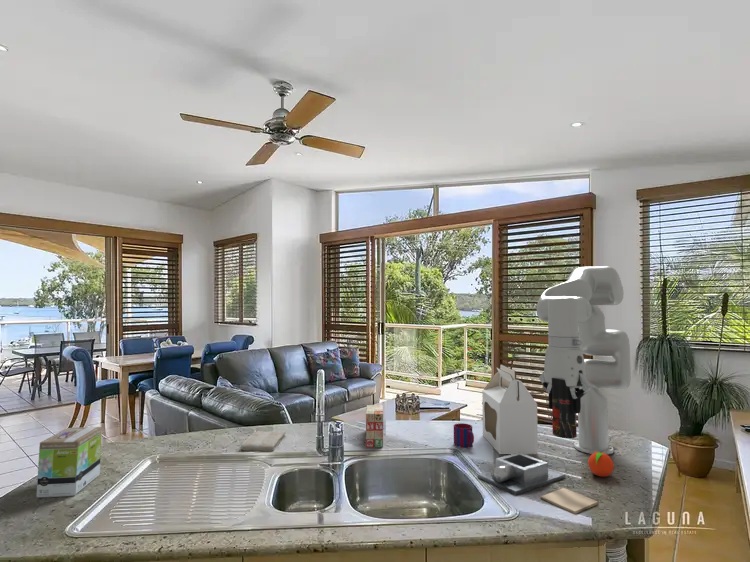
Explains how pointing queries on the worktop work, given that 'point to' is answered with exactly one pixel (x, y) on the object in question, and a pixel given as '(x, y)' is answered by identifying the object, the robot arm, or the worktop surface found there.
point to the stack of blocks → (374, 426)
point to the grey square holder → (520, 473)
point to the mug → (463, 435)
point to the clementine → (600, 464)
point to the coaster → (569, 500)
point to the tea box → (69, 461)
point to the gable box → (509, 414)
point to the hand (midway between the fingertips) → (564, 409)
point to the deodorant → (562, 410)
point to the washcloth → (263, 441)
